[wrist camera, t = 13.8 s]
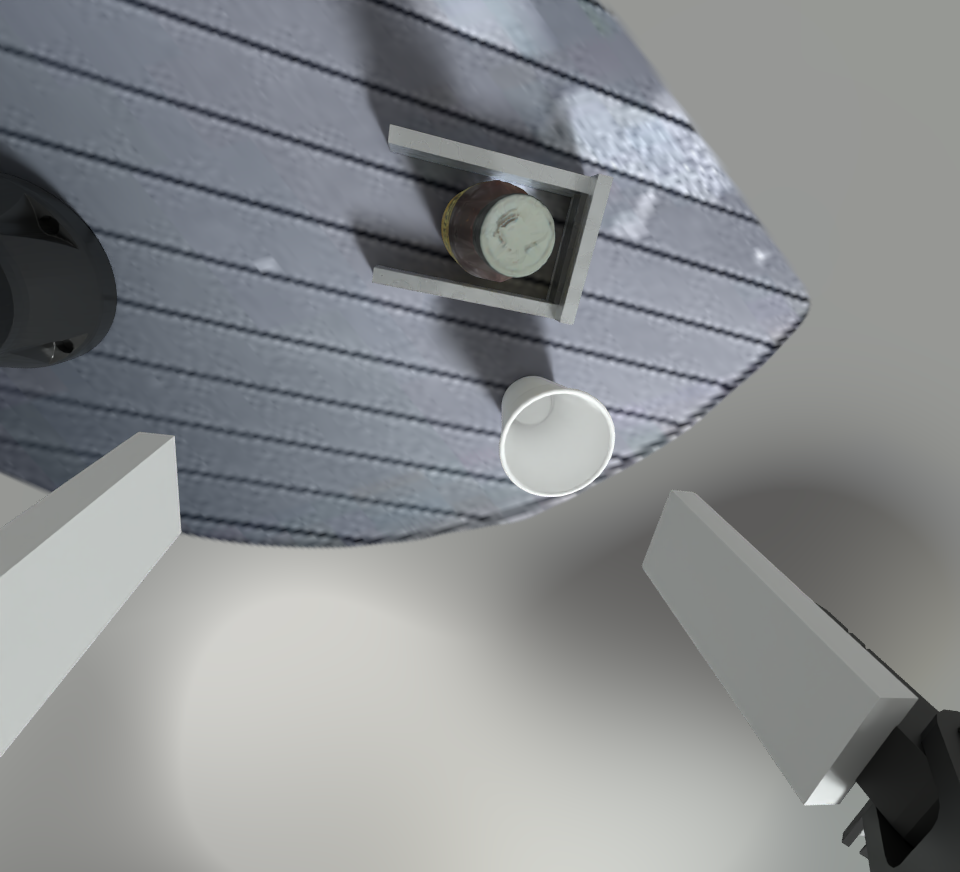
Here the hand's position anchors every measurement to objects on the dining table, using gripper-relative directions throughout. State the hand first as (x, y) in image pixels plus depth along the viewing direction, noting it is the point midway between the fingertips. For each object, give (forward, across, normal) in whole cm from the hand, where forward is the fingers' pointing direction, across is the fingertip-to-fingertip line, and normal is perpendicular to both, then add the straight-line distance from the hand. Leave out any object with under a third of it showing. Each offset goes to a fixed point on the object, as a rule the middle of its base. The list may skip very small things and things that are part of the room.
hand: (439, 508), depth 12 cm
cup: (+34, +12, -7) cm, 37 cm away
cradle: (+34, +3, +8) cm, 35 cm away
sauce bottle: (+34, +4, +8) cm, 36 cm away
